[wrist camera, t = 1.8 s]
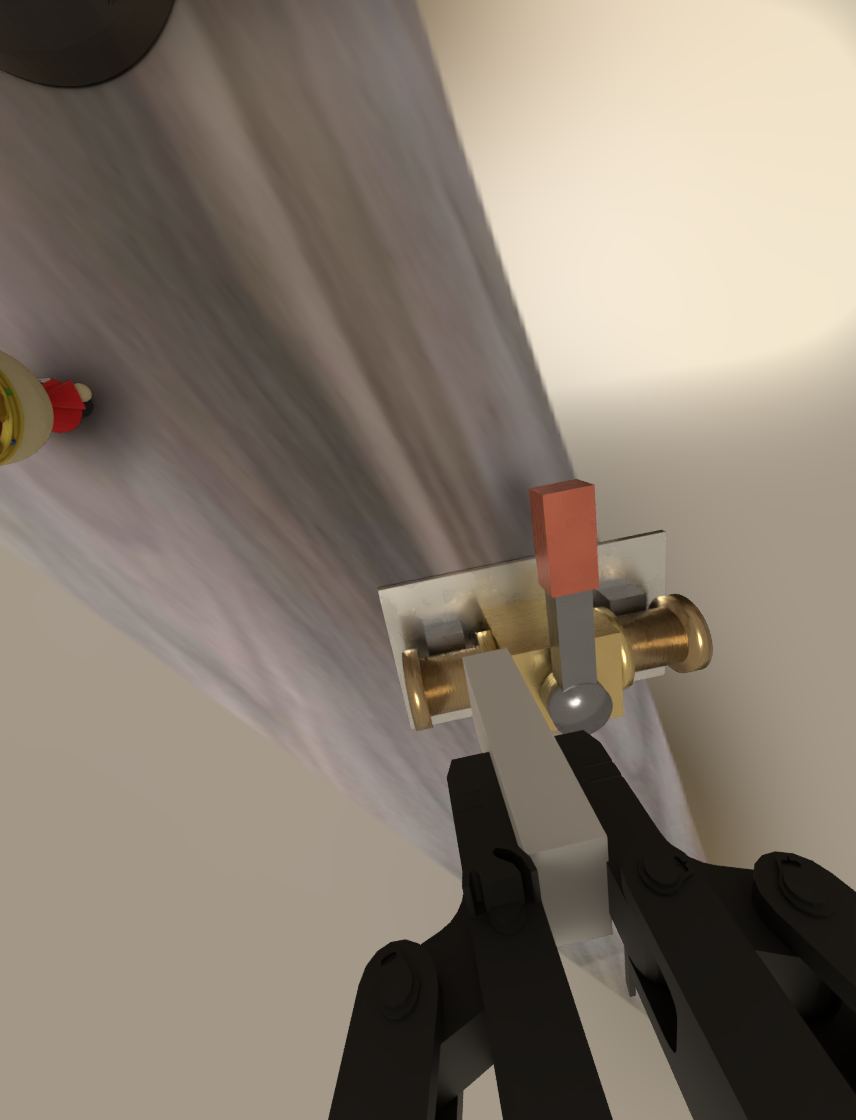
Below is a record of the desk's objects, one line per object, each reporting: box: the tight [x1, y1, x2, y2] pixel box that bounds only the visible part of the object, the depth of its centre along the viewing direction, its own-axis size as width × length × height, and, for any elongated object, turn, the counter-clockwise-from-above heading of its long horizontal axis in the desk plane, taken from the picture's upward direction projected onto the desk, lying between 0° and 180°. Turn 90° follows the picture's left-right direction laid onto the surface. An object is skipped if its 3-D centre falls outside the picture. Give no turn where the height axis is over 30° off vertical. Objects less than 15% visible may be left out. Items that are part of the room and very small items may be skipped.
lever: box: [529, 479, 613, 734], centre depth 26 cm, size 16×4×2 cm, turn 10°
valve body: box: [378, 530, 713, 732], centre depth 33 cm, size 24×14×8 cm, turn 100°
